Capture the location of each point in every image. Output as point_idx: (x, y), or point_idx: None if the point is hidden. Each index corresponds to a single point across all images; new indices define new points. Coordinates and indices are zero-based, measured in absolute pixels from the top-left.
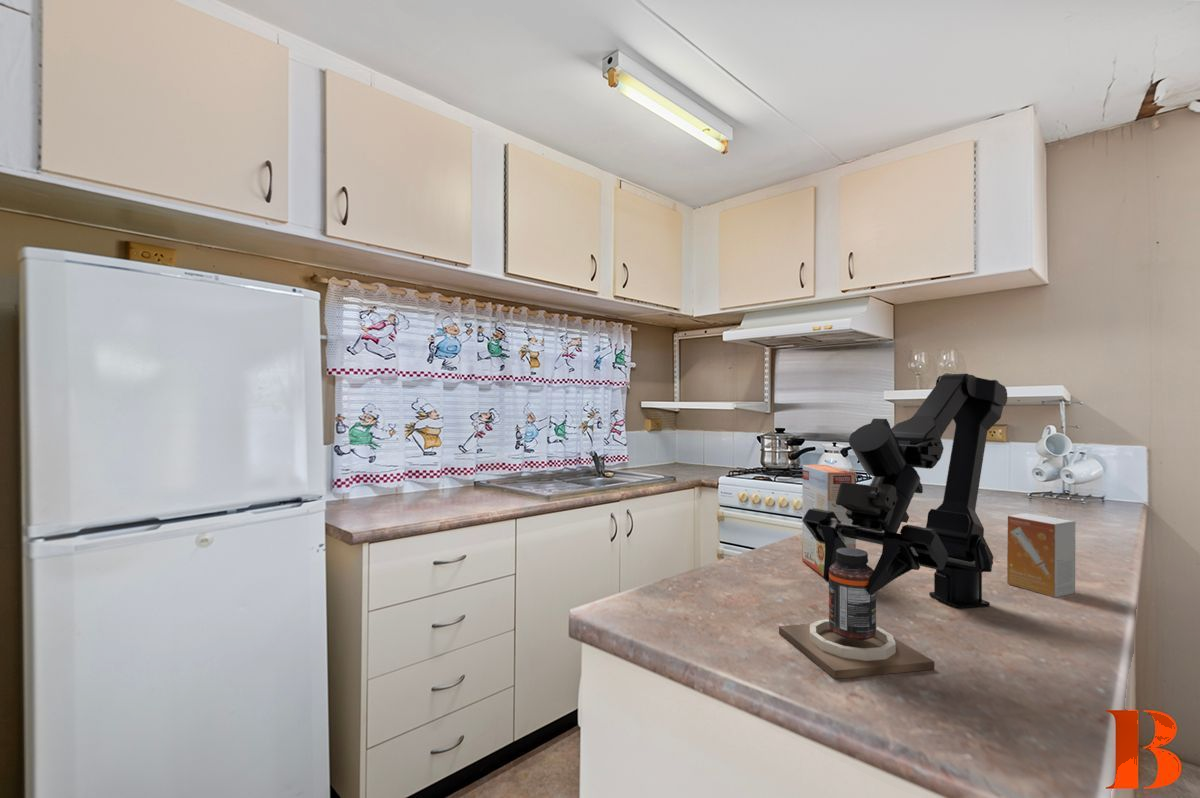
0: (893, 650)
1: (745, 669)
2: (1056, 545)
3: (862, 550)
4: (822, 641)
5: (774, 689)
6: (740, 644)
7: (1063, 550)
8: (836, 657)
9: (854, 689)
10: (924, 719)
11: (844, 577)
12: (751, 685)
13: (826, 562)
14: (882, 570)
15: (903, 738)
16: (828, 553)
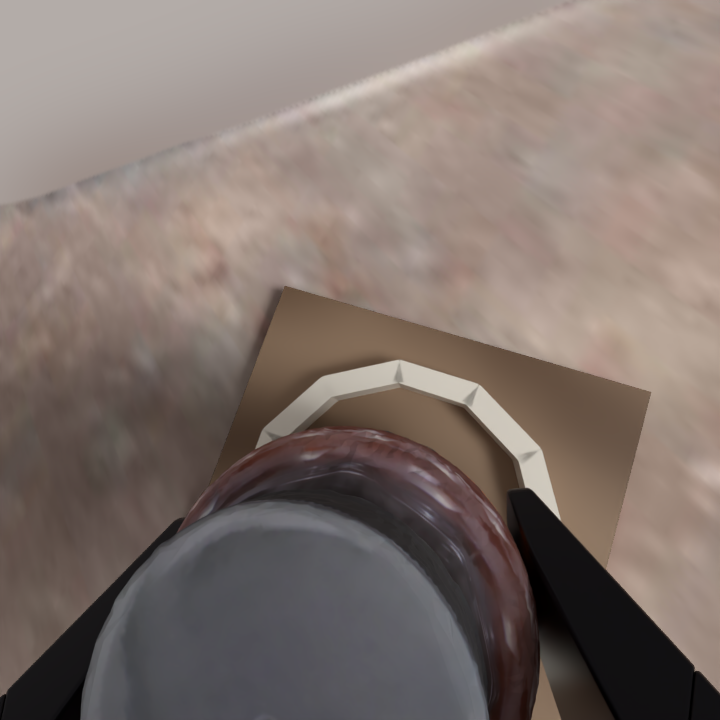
0: None
1: (458, 116)
2: None
3: None
4: (397, 361)
5: (337, 118)
6: (613, 203)
7: None
8: (338, 362)
9: (231, 296)
10: (70, 324)
11: (286, 436)
12: (381, 81)
13: (597, 590)
14: (17, 680)
15: (66, 221)
16: (669, 703)
